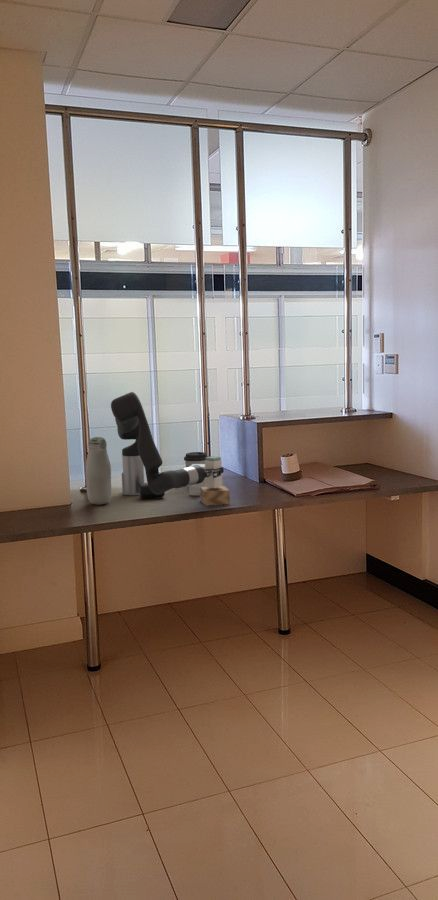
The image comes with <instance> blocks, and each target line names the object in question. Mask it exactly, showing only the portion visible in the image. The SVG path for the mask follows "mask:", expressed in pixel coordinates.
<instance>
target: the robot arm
mask: <svg viewBox="0 0 438 900" xmlns="http://www.w3.org/2000/svg"><path fill="white" fill-rule="evenodd" d="M142 405H143V404H142V402H141V400H140V397H139V396H138V395H137V393H135V392H134V391H131V392H128V393H125V394H124V395H123V394H122V395H121V396H119V397H117V398H114V399H113V400H112V401H111V402H110V408H111V409H110V410H111V412H112V415H113V417H114V419H115V424H116V426H117V429H116V430H117V435H118V437H119V438H120V439H121V440H126V441H127V440H135V442H133V443H132V444H130V445H128V446H125V447H123V448H122V449H121V459H122V460H121V461H122V472H121V488H122V495H124V496H125V495H126V496H140V492H139V491H140V487H139V485H140V484H141V483H148V486H149V489H150V490H151V491H152V492H153V493H154V494H161V493H164V492H165V493H166V492H168V491H170V490H172V489H180V488H185V487H189V486H192V485H196V484H199V483H202V482H203V481H204V479H205V478H208V477H213V478H216V477H218V476H221V473H222V474H223V473H224V467H221V468H216V469H213V468H208V469H207V468H205V467H201V466H199V465H193V466H189V467H186V466H185V467H182V468H179V469H175V470H165V471H163V472H160V471H159V468H160V467H161V466H162V465H163V460H162V457H161V455H160V452H159V450H158V447H157V446H156V444H155V441H154V438H153V435H152V432H151V429H150V426H149V422H148V420H147V417H146V412H145V411H144V408H143V406H142ZM210 470H211V471H210ZM145 477H146V481H147V482H145ZM165 493H164V494H165Z"/></svg>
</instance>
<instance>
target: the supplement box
mask: <svg viewBox="0 0 438 900" xmlns="http://www.w3.org/2000/svg"><path fill="white" fill-rule="evenodd" d="M193 465H199V466H201V467H205V464H192V465H191V466H193ZM200 487H205V479H204V481H203V482H202V483H199V484H196V485H192V486H188V489H189V490H188V491H189V492H188V493H189V496H201V491H200Z"/></svg>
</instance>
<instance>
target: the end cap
mask: <svg viewBox="0 0 438 900" xmlns="http://www.w3.org/2000/svg"><path fill="white" fill-rule="evenodd" d="M139 487H140V491H139V492H140V495H139V498H140V499H141V500H148V499H149V500H150V499H151V500H152V499H162V498H163V497H164V496H165V493H166V492H164V493H161V494H154V493H153V492H152V491H151V490H150V489H149V486H148V483H147V482H145V483H141V484H140V485H139Z"/></svg>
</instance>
